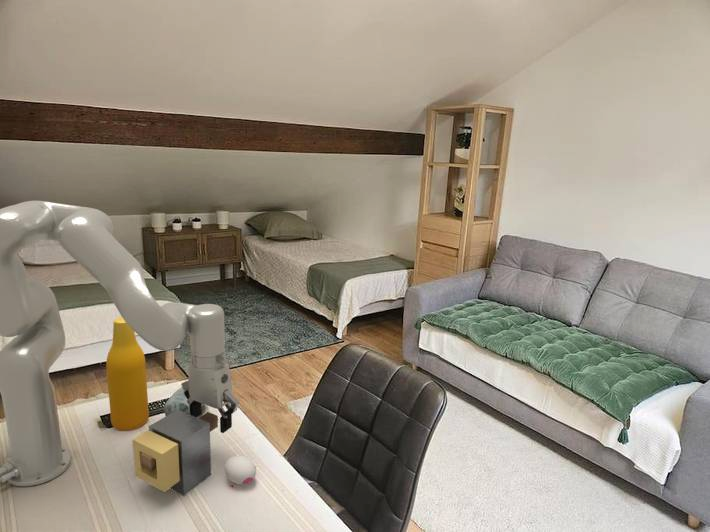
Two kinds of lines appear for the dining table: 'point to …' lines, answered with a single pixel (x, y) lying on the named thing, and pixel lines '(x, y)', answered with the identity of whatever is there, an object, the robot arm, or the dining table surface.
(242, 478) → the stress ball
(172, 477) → the block
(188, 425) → the block
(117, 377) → the beer bottle
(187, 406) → the spool
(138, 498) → the dining table surface
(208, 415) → the shaft
